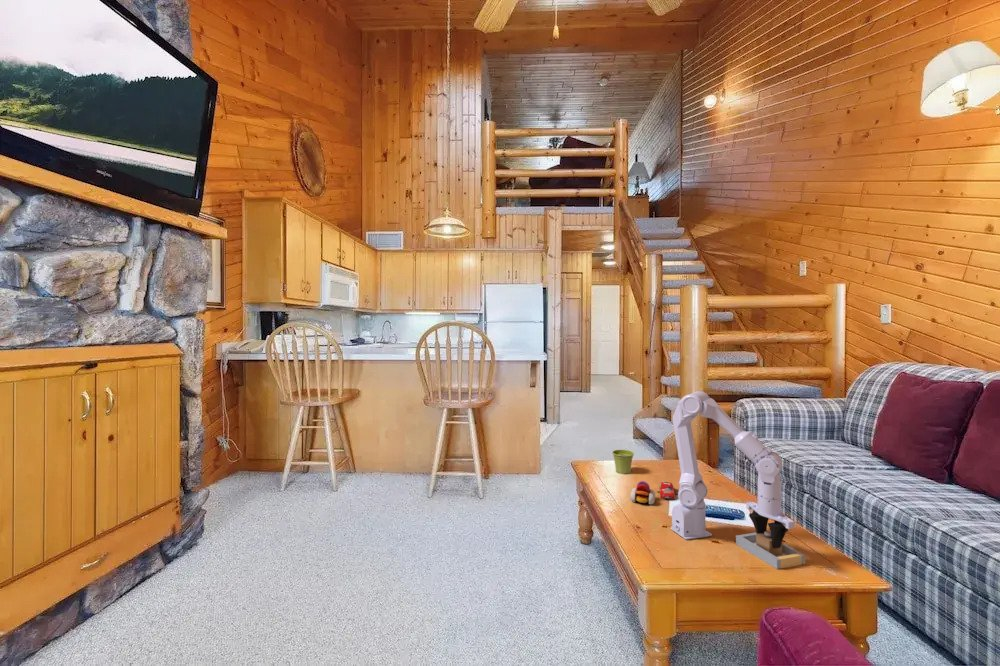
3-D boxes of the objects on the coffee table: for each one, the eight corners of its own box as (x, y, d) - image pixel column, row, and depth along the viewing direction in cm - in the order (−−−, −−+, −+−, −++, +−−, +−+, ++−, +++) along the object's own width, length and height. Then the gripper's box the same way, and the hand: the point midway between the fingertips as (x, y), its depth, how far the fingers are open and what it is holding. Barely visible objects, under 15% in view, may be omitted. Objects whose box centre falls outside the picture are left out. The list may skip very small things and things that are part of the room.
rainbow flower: (629, 504, 164) (629, 484, 164) (632, 495, 173) (632, 476, 173) (654, 507, 161) (654, 487, 161) (655, 498, 170) (655, 479, 170)
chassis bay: (776, 569, 120) (777, 559, 120) (735, 543, 134) (735, 535, 134) (805, 564, 123) (805, 555, 123) (761, 539, 137) (761, 531, 136)
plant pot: (631, 476, 194) (631, 456, 194) (609, 473, 198) (609, 453, 198) (636, 470, 202) (636, 451, 202) (615, 467, 207) (615, 448, 206)
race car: (675, 502, 167) (675, 491, 167) (659, 500, 168) (659, 489, 168) (674, 489, 179) (674, 479, 179) (659, 488, 181) (659, 478, 181)
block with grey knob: (769, 557, 126) (769, 537, 126) (756, 549, 130) (756, 530, 130) (782, 554, 127) (782, 535, 127) (768, 547, 131) (768, 528, 131)
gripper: (803, 504, 122) (803, 553, 122) (759, 485, 136) (759, 530, 136) (782, 506, 120) (782, 557, 120) (740, 488, 134) (740, 533, 135)
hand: (769, 543), depth 128 cm, fingers closed on block with grey knob, 4 cm apart
